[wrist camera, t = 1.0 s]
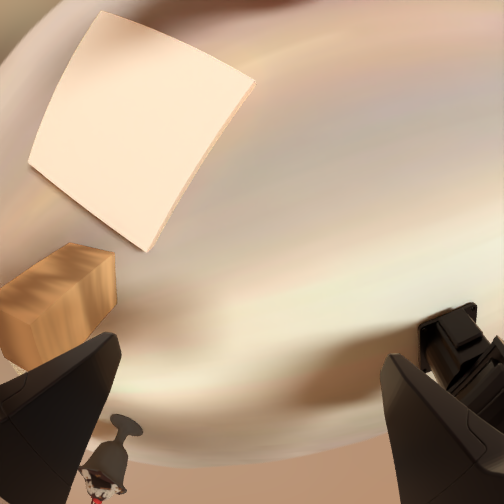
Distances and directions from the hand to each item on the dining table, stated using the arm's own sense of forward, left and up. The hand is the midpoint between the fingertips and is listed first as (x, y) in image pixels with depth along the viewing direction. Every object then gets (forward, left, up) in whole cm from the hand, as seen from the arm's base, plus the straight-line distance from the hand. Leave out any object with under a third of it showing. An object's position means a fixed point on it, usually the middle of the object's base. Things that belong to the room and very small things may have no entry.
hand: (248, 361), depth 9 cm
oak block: (+2, +16, -13) cm, 21 cm away
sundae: (-19, +27, -13) cm, 36 cm away
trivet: (+12, +7, -13) cm, 19 cm away
